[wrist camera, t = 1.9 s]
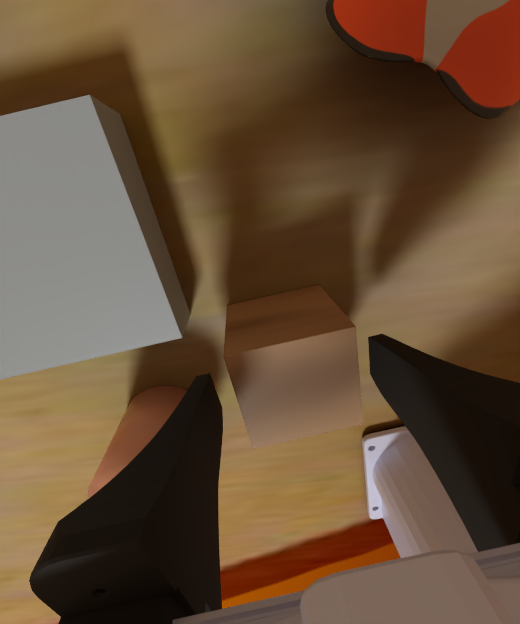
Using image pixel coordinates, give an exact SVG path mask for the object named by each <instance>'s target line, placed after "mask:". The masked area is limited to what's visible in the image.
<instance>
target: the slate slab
mask: <svg viewBox="0 0 520 624" xmlns="http://www.w3.org/2000/svg"><path fill="white" fill-rule="evenodd" d="M189 317H190V311H189V308H188V306H187V303H186V300H185V297H184V294H183V291H182V289H181V286H180V283H179V280H178V277H177V274H176V271H175V269H174V266H173V263H172V260H171V257H170V254H169V252H168V249H167V246H166V243H165V240H164V237H163V234H162V232H161V229H160V226H159V223H158V220H157V217H156V214H155V212H154V209H153V206H152V203H151V200H150V197H149V195H148V192H147V189H146V186H145V183H144V180H143V177H142V175H141V172H140V169H139V166H138V163H137V160H136V158H135V155H134V152H133V149H132V146H131V143H130V140H129V138H128V135H127V132H126V129H125V126H124V123H123V121H122V118H121V115H120V113H118V112H116V111H115V110H113V109H112V108H110V107H108V106H107V105H105V104H104V103H102V102H100V101H99V100H97V99H96V98H94V97H93V96H91V95H86V96H82V97H78V98H74V99H69V100H65V101H61V102H57V103H53V104H48V105H44V106H40V107H36V108H32V109H27V110H23V111H19V112H15V113H11V114H6V115H2V116H0V379H4V378H8V377H13V376H17V375H22V374H26V373H30V372H35V371H39V370H44V369H48V368H52V367H57V366H61V365H65V364H70V363H74V362H79V361H83V360H87V359H92V358H96V357H101V356H105V355H109V354H114V353H118V352H123V351H127V350H131V349H136V348H140V347H144V346H149V345H153V344H158V343H162V342H166V341H171V340H175V339H180V338H182V337H183V334H184V331H185V328H186V325H187V322H188V320H189Z"/></svg>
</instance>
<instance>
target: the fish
mask: <svg viewBox="0 0 520 624" xmlns="http://www.w3.org/2000/svg"><path fill="white" fill-rule="evenodd" d="M326 14H327V18H328V21H329V23H330V25H331V27H332V28H333V30H334V31H335V32H336V34H337V35H338V36H339V37H340V38H341V39H342V40H343V41H344V42H345V43H346V44H347V45H348V46H349V47H351V48H352V49H353V50H355V51H356V52H358V53H359V54H361V55H363V56H365V57H368V58H370V59H374V60H378V61H384V62H420V63H424V64H426V65H428V66H430V67H431V68H432V69H433V70H434V71H435V72H436V73H437V74H438V76H439V77H440V79H441V80H442V82H443V83H444V85H445V86H446V87H447V89H448V90H449V91H450V92H451V94H452V95H453V96H454V97H455V98H456V99H457V100H458V101H459V102H460V103H461V104H462V105H463V106H464V107H465V108H466V109H468V110H469V111H470V112H472V113H473V114H475V115H477V116H479V117H482V118H486V119H492V118H496V117H499V116H501V115H502V114H503V113H505V112H506V111H507V110H508V109H509V108H510V107H511V106H512V105H513V104H515V103H516V102H517V101H519V100H520V0H328V1H327V3H326Z"/></svg>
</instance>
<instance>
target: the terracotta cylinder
mask: <svg viewBox="0 0 520 624" xmlns="http://www.w3.org/2000/svg"><path fill="white" fill-rule="evenodd" d="M186 392H187V390H186V389H183V388H180V387H176V386H156V387H152V388H148V389H146V390H144V391H142V392H140V393H139V394H137V395H136V396H135V397H134V398H133V399H132V400H131V402H130V403H129V405H128V408H127V410H126V412H125V414H124V416H123V418H122V420H121V422H120V424H119V426H118V428H117V430H116V432H115V434H114V437H113V439H112V441H111V443H110V445H109V447H108V449H107V451H106V453H105V455H104V457H103V459H102V461H101V463H100V465H99V468H98V470H97V472H96V474H95V476H94V478H93V480H92V482H91V484H90V486H89V490H88V497H89V498H90V497H91V496H93V495H94V494H95V493H96V492H98V491H99V490H100V489H101V488H102V487H103V486H105V485H106V484H107V483H108V482H109V481H110V480H112V479H113V478H114V477H115V476H116V475H117V474H118V473H119V472H120V471H121V470H123V469H124V468H125V467H126V466H127V465H128V464H129V463H130V462H131V461H132V460H133V459H134V458H135V457H136V456H137V455H138V454H139V453H140V452H141V451H142V450H143V448H144V447H145V446H146V445H147V444H148V443H149V442H150V441H151V439H152V438H153V437H154V436H155V435H156V434H157V432H158V431H159V430H160V429H161V428H162V426H163V425H164V423H165V422H166V421H167V419H168V418H169V417H170V415H171V414H172V413H173V411H174V410H175V408H176V407H177V405H178V404H179V402H180V401H181V400H182V398H183V396H184V395H185V393H186Z"/></svg>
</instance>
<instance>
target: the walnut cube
mask: <svg viewBox="0 0 520 624" xmlns="http://www.w3.org/2000/svg"><path fill="white" fill-rule="evenodd" d="M224 359H225V363H226V366H227V369H228V372H229V375H230V378H231V381H232V385H233V388H234V391H235V394H236V397H237V400H238V403H239V407H240V410H241V413H242V416H243V419H244V422H245V425H246V429H247V432H248V435H249V438H250V441H251V444H252V447H253V449H254V448H259V447H263V446H268V445H272V444H277V443H282V442H286V441H291V440H295V439H300V438H304V437H309V436H313V435H318V434H322V433H327V432H331V431H336V430H340V429H345V428H349V427H354V426H359V425H363V415H362V402H361V389H360V376H359V363H358V350H357V337H356V326H355V325H354V324H353V323H352V322H351V321H350V319H349V318H348V317H347V316H346V315H345V314H344V312H343V311H342V310H341V309H340V308H339V307H338V305H337V304H336V303H335V302H334V301H333V300H332V298H331V297H330V296H329V295H328V294H327V293H326V291H325V290H324V289H323V288H322V287H321V286H320V284H319V285H314V286H310V287H305V288H301V289H297V290H292V291H288V292H284V293H279V294H275V295H271V296H266V297H262V298H258V299H253V300H249V301H244V302H240V303H236V304H231V305H227V315H226V329H225V343H224Z"/></svg>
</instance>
